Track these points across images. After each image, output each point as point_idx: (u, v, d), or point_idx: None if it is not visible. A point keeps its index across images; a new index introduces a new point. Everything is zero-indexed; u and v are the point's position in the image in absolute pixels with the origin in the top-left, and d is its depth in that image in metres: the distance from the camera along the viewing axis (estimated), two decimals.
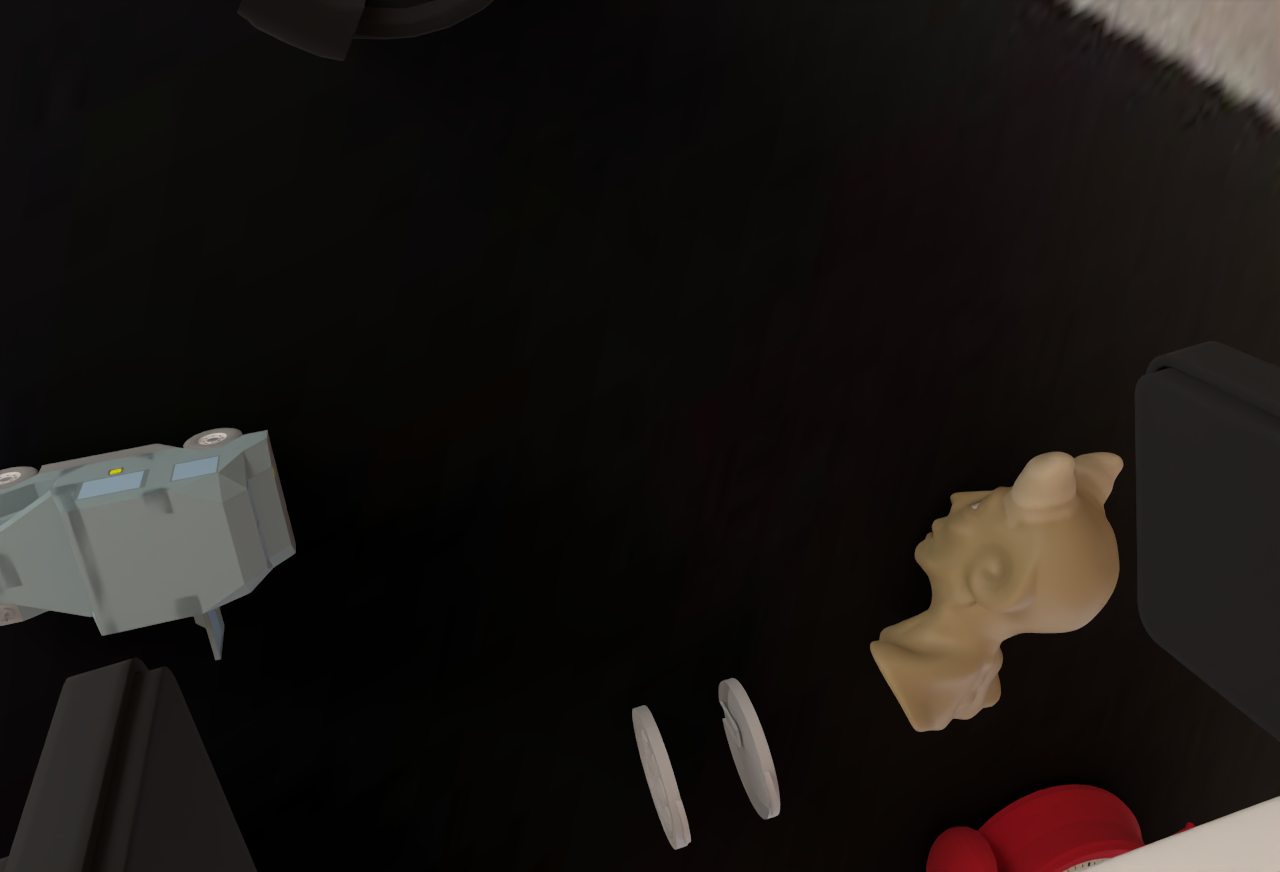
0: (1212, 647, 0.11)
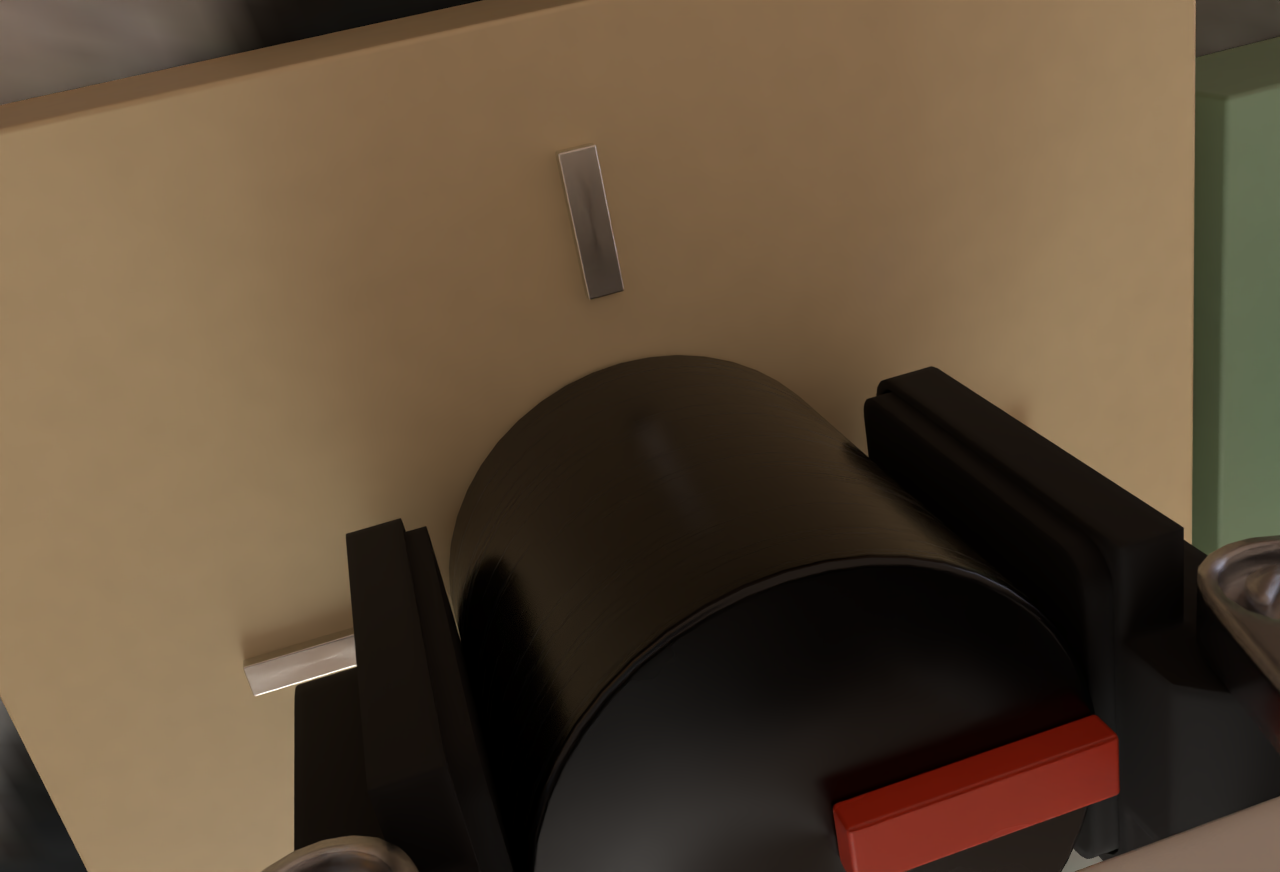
0: None
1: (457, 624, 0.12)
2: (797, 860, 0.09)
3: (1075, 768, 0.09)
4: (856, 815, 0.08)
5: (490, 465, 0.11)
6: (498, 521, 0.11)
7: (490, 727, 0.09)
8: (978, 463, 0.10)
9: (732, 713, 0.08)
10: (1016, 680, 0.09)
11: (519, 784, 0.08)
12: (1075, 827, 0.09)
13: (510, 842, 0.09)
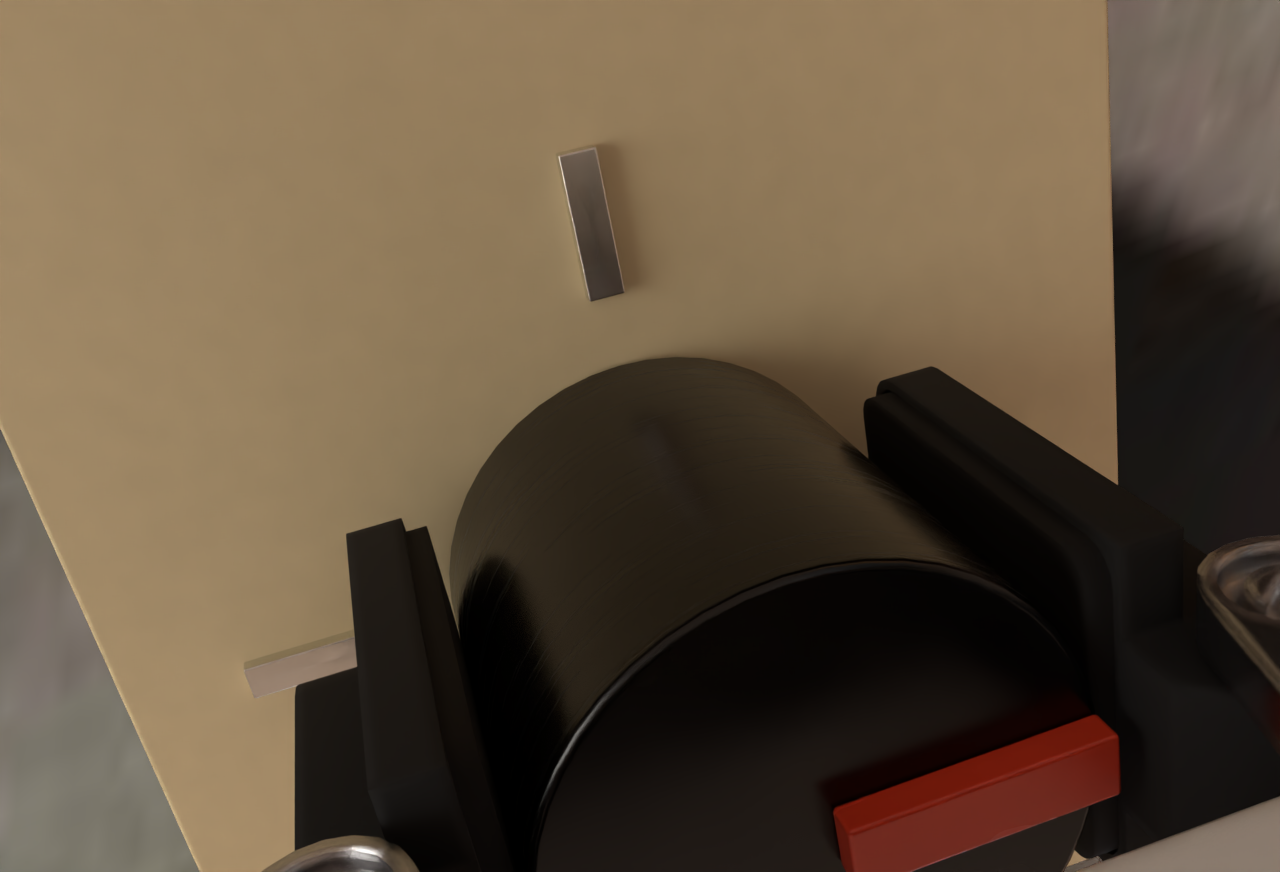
0: None
1: (458, 629, 0.12)
2: (799, 865, 0.09)
3: (1076, 768, 0.09)
4: (856, 818, 0.08)
5: (489, 469, 0.11)
6: (497, 525, 0.11)
7: (490, 733, 0.09)
8: (978, 463, 0.10)
9: (729, 718, 0.08)
10: (1015, 681, 0.08)
11: (519, 791, 0.08)
12: (1077, 827, 0.09)
13: (511, 848, 0.09)
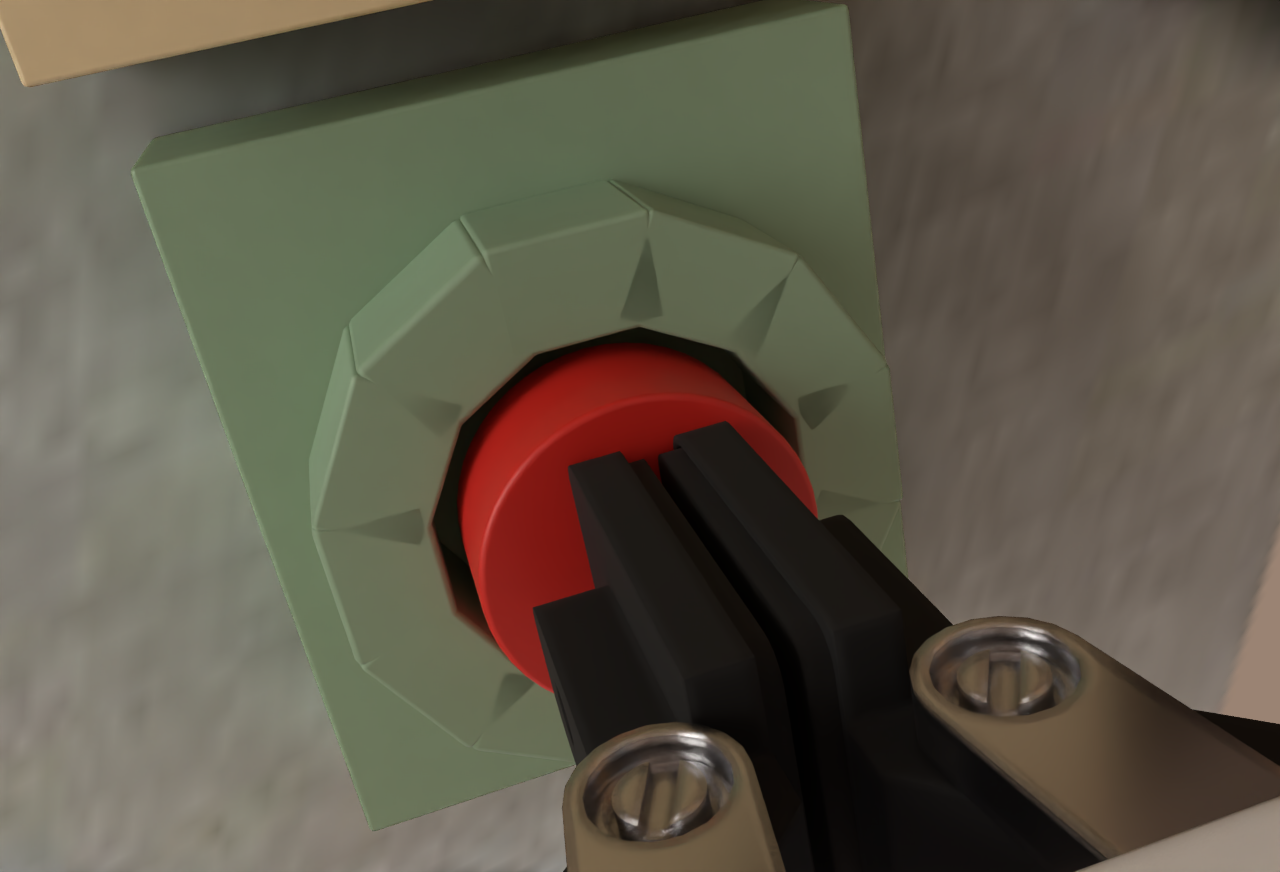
0: None
1: None
2: None
3: None
4: None
5: None
6: None
7: None
8: (736, 530, 0.10)
9: None
10: None
11: None
12: None
13: None
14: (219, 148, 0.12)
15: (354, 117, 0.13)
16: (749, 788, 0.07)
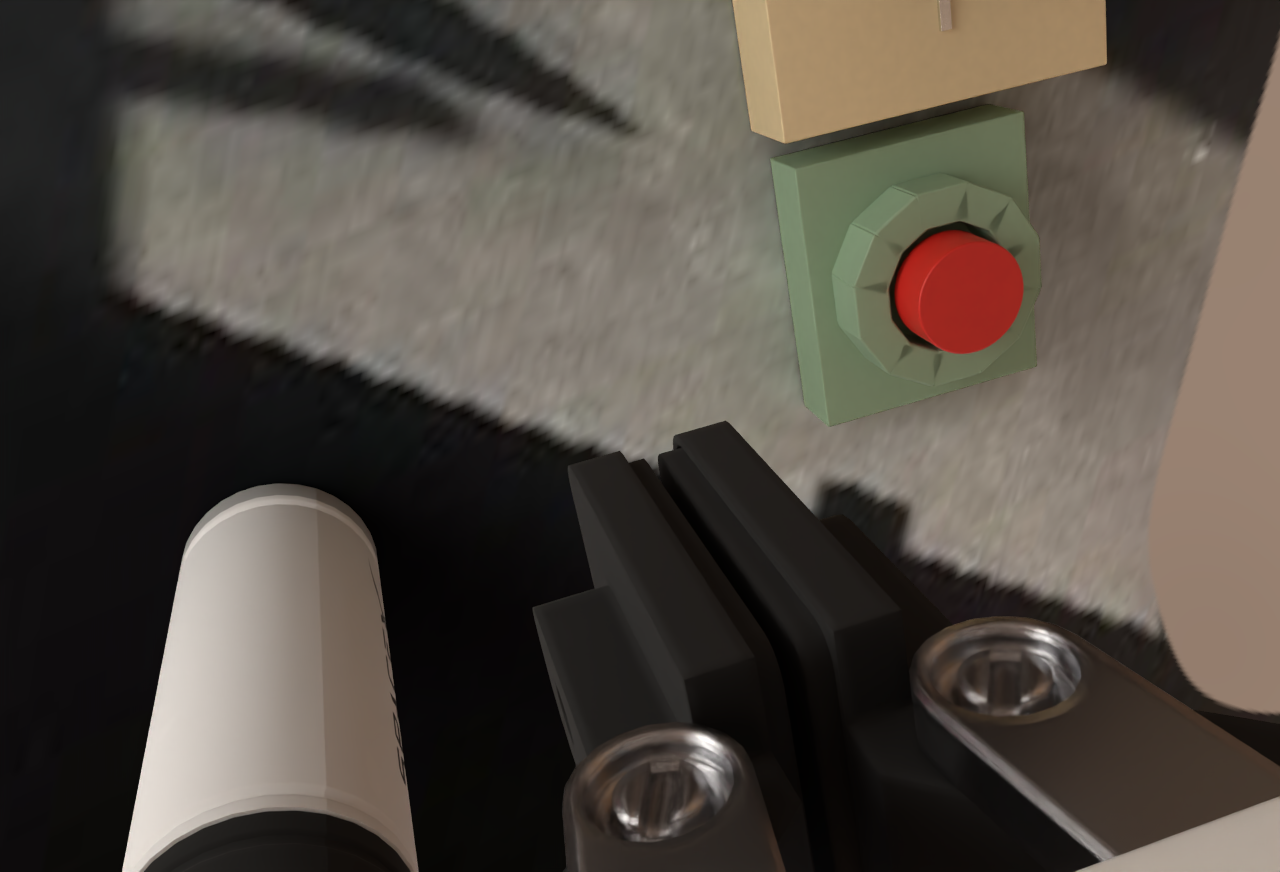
0: None
1: None
2: None
3: None
4: None
5: None
6: None
7: None
8: (736, 530, 0.10)
9: None
10: None
11: None
12: None
13: None
14: (821, 162, 0.38)
15: (862, 151, 0.38)
16: (750, 788, 0.07)
